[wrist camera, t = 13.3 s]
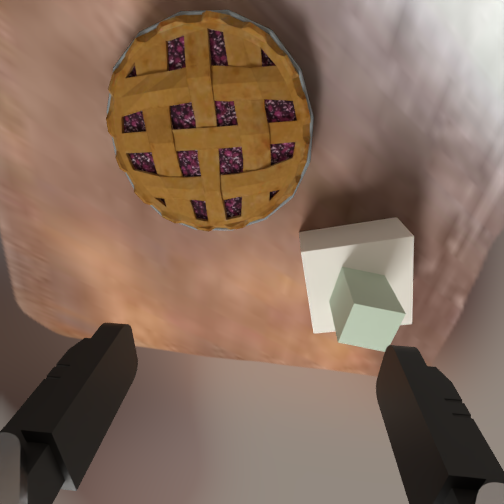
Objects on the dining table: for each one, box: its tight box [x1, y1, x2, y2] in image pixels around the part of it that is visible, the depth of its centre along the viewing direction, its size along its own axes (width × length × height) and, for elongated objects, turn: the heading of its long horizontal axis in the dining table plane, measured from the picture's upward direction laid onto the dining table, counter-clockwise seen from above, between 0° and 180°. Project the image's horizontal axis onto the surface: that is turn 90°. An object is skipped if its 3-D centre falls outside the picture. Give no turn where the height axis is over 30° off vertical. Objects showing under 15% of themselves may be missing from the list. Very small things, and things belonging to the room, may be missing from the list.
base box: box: [299, 217, 414, 333], centre depth 40 cm, size 12×12×6 cm
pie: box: [106, 10, 314, 231], centre depth 34 cm, size 22×22×5 cm
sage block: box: [329, 267, 406, 352], centre depth 34 cm, size 5×5×7 cm
